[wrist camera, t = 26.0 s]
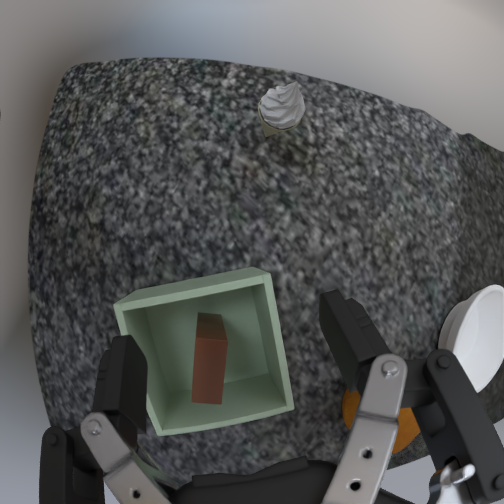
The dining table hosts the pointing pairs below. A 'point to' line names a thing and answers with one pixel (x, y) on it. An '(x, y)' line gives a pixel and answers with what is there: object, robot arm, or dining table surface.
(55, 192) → the dining table surface
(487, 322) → the bowl
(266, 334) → the trash bin
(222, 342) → the chocolate bar
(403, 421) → the bread
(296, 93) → the ice cream cone
